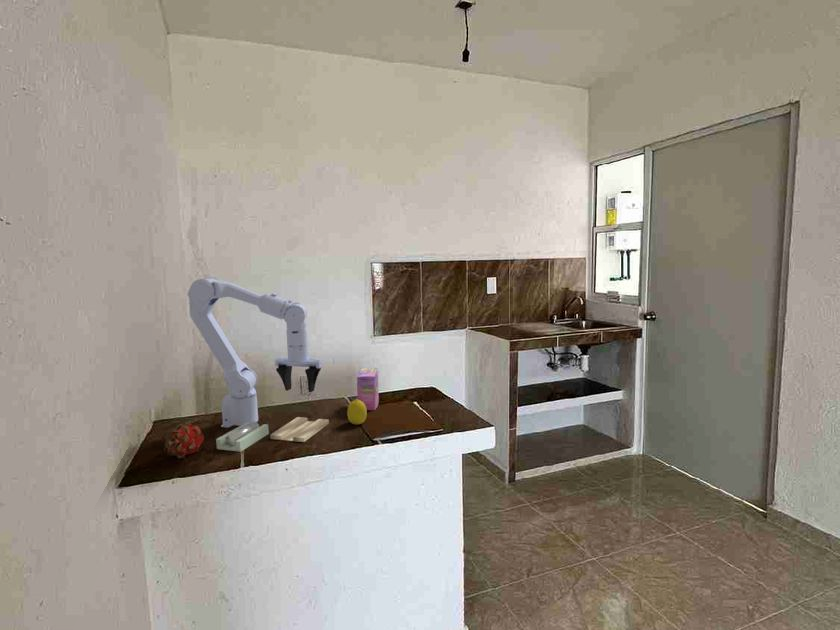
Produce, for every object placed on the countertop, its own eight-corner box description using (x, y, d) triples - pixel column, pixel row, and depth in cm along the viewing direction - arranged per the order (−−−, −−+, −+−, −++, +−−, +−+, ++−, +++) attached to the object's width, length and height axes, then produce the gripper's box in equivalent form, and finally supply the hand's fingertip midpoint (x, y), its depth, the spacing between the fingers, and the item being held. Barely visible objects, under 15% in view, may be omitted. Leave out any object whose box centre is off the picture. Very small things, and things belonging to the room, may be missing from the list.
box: (376, 413, 146) (374, 376, 144) (357, 413, 146) (356, 376, 145) (379, 402, 156) (378, 367, 155) (362, 402, 156) (360, 368, 155)
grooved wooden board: (270, 442, 125) (270, 434, 125) (298, 423, 138) (297, 416, 138) (304, 445, 122) (304, 438, 122) (329, 426, 135) (328, 419, 135)
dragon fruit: (173, 473, 112) (190, 458, 123) (203, 449, 113) (217, 437, 124) (149, 445, 111) (169, 433, 123) (180, 422, 112) (196, 412, 124)
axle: (236, 447, 118) (234, 435, 118) (226, 446, 119) (224, 435, 119) (259, 432, 128) (258, 421, 127) (250, 431, 128) (249, 421, 128)
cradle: (217, 452, 119) (216, 439, 118) (246, 434, 130) (245, 422, 130) (241, 455, 117) (240, 441, 116) (268, 436, 128) (268, 424, 128)
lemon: (363, 430, 132) (362, 402, 131) (345, 429, 133) (343, 401, 132) (369, 423, 137) (368, 396, 136) (351, 422, 138) (350, 395, 137)
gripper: (267, 346, 135) (270, 392, 137) (313, 348, 131) (315, 396, 133) (281, 342, 142) (283, 386, 144) (324, 344, 138) (327, 389, 140)
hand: (299, 390), depth 139 cm, fingers open, 7 cm apart
